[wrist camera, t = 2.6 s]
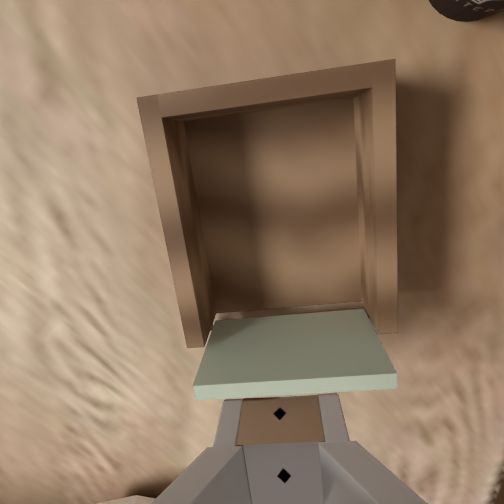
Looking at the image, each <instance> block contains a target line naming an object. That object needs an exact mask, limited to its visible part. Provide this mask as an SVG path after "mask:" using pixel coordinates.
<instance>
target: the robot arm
mask: <svg viewBox="0 0 504 504" xmlns="http://www.w3.org/2000/svg"><path fill="white" fill-rule="evenodd" d="M151 504H427V503H426V502H425V501H424V500H423V499H422V498H421V497H419V496H418V495H417V494H416V493H415V492H414V491H413V490H411V489H410V488H409V487H408V486H407V485H406V484H405V483H404V482H402V481H401V480H400V479H399V478H398V477H397V476H396V475H394V474H393V473H392V472H391V471H390V470H389V469H388V468H386V467H385V466H384V465H383V464H382V463H381V462H380V461H378V460H377V459H376V458H375V457H374V456H373V455H372V454H370V453H369V452H368V451H367V450H366V449H365V448H364V447H362V446H361V445H360V444H359V443H358V442H357V441H350V440H349V436H348V432H347V428H346V424H345V419H344V415H343V411H342V407H341V403H340V399H339V395H338V394H337V393H327V394H318V395H309V396H294V397H270V398H244V399H225V400H224V402H223V403H222V408H221V413H220V417H219V422H218V426H217V431H216V436H215V440H214V445H213V447H208V448H206V449H205V450H204V451H203V452H202V453H201V454H200V455H199V456H198V457H197V458H196V459H195V460H194V461H193V462H192V463H191V464H190V465H189V466H188V467H187V468H186V469H185V470H184V471H183V472H182V473H181V474H180V475H179V476H178V477H177V478H176V479H175V480H174V481H173V482H172V483H171V484H170V485H169V486H168V487H167V488H166V489H165V490H164V491H163V492H162V493H161V494H160V495H159V496H158V497H157V498H156V499H155V500H154V501H153V502H152V503H151Z"/></svg>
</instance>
